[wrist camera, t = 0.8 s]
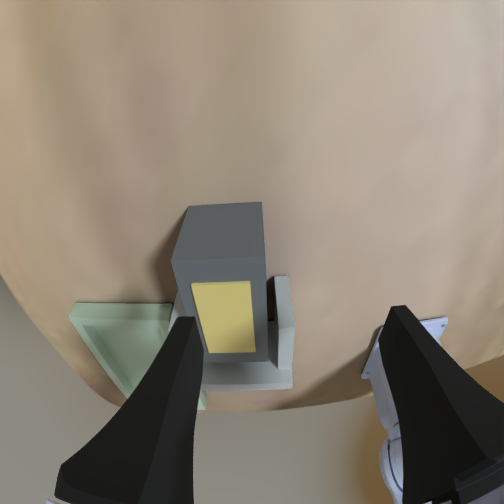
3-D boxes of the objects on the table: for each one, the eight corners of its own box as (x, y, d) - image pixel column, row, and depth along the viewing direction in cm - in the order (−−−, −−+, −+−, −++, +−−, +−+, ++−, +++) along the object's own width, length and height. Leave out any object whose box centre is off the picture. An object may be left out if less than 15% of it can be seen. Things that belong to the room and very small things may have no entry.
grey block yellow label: (265, 303, 24) (268, 363, 20) (208, 305, 25) (201, 364, 20) (261, 201, 19) (265, 259, 15) (188, 206, 19) (169, 263, 15)
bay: (286, 327, 26) (292, 388, 21) (194, 330, 26) (186, 389, 22) (288, 275, 22) (297, 342, 18) (179, 280, 23) (164, 345, 18)
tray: (206, 397, 34) (205, 410, 33) (134, 392, 35) (132, 404, 33) (172, 303, 24) (168, 320, 23) (75, 302, 25) (68, 317, 23)
